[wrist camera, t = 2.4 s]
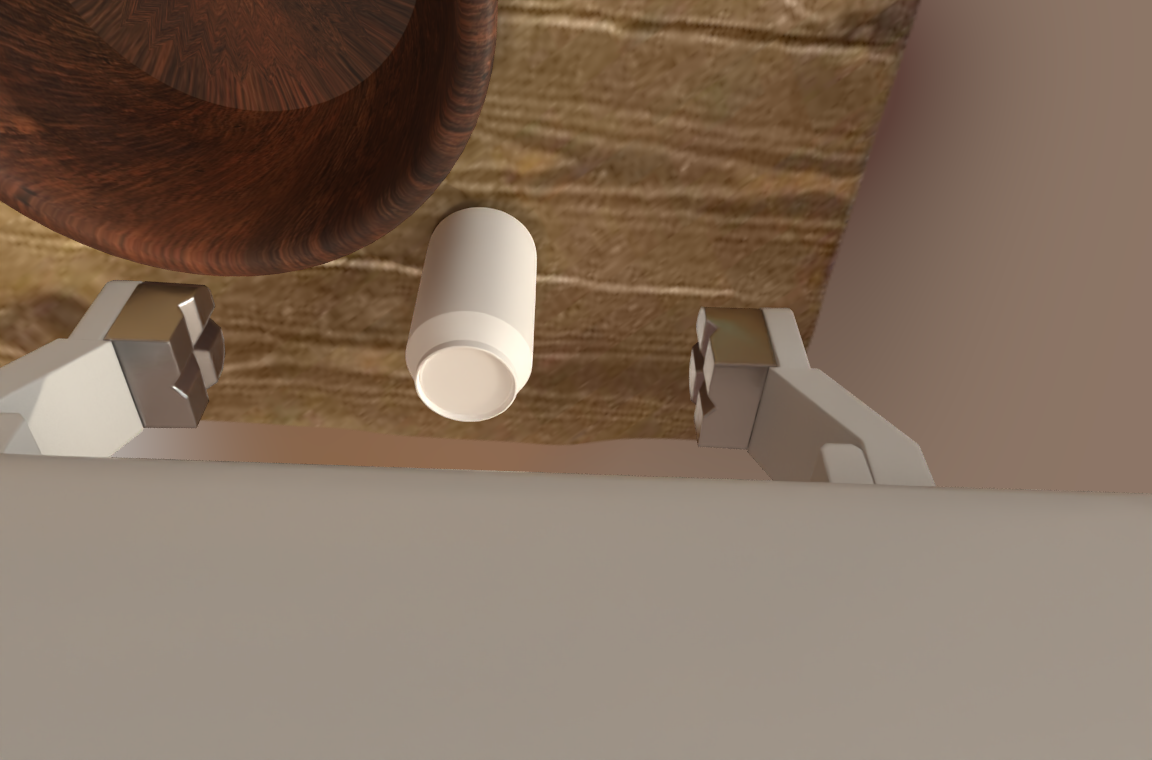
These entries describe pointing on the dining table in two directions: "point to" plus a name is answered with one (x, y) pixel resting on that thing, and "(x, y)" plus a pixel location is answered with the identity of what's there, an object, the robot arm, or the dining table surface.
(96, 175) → the wooden bowl
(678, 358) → the dining table surface
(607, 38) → the dining table surface
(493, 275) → the beverage can
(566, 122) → the dining table surface
